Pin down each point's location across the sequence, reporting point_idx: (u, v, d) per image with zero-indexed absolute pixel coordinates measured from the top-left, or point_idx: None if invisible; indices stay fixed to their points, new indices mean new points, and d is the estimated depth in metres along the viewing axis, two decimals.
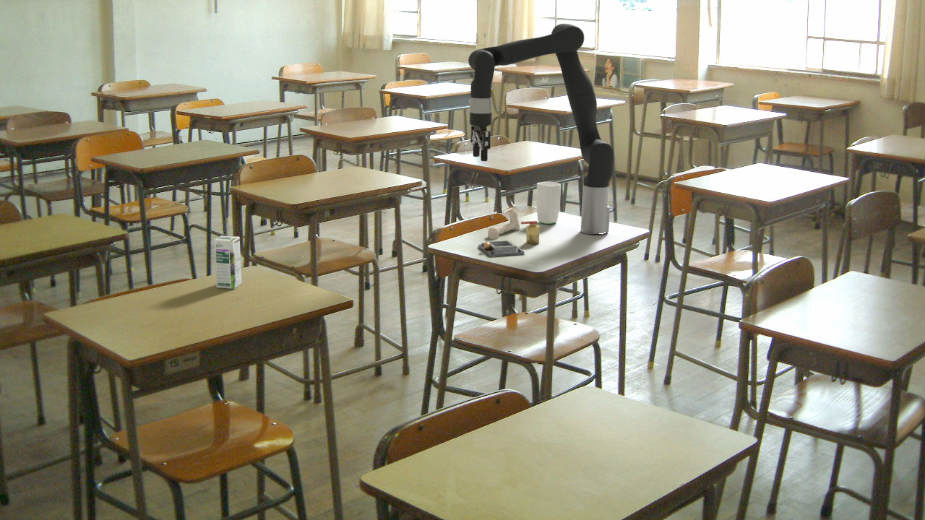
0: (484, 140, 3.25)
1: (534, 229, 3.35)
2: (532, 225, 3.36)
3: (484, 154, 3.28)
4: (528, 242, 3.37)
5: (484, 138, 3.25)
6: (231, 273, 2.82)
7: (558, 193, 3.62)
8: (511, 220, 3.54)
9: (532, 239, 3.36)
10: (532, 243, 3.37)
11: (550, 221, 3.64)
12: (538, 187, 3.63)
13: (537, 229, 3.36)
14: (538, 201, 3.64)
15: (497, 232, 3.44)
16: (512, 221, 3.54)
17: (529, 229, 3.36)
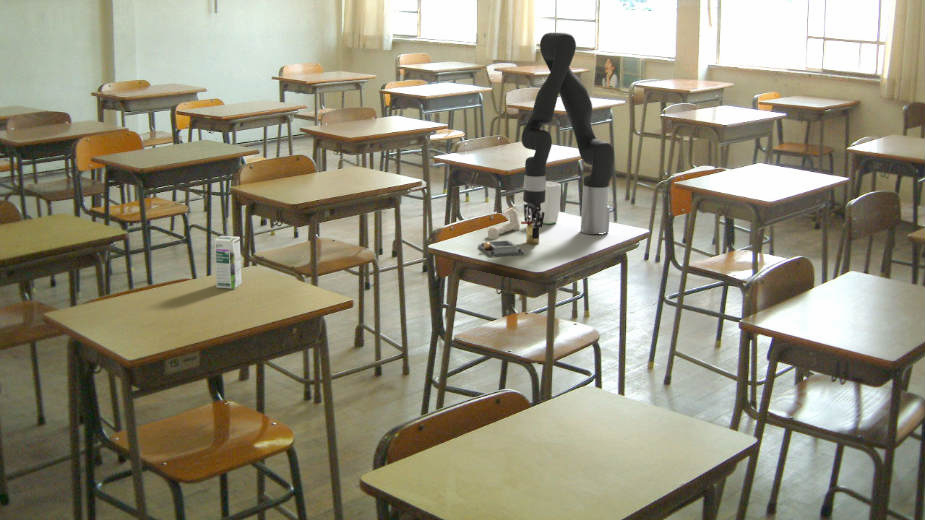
0: (537, 220, 3.31)
1: None
2: None
3: (536, 232, 3.34)
4: (528, 242, 3.37)
5: (537, 219, 3.30)
6: (231, 273, 2.82)
7: (558, 193, 3.62)
8: (511, 220, 3.54)
9: (532, 239, 3.36)
10: (532, 243, 3.37)
11: (550, 221, 3.64)
12: None
13: None
14: None
15: (497, 232, 3.43)
16: (512, 221, 3.54)
17: (529, 229, 3.36)
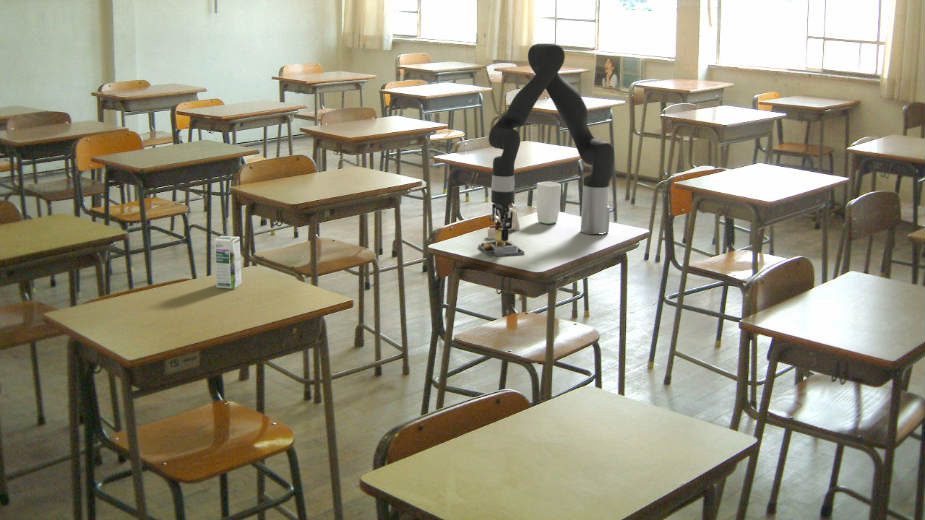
0: (506, 221, 3.19)
1: None
2: (501, 229, 3.25)
3: (505, 234, 3.23)
4: None
5: (506, 219, 3.19)
6: (231, 273, 2.82)
7: (558, 193, 3.62)
8: None
9: (501, 243, 3.26)
10: None
11: (550, 221, 3.64)
12: (538, 187, 3.63)
13: None
14: (538, 201, 3.64)
15: None
16: (512, 221, 3.54)
17: (497, 233, 3.25)
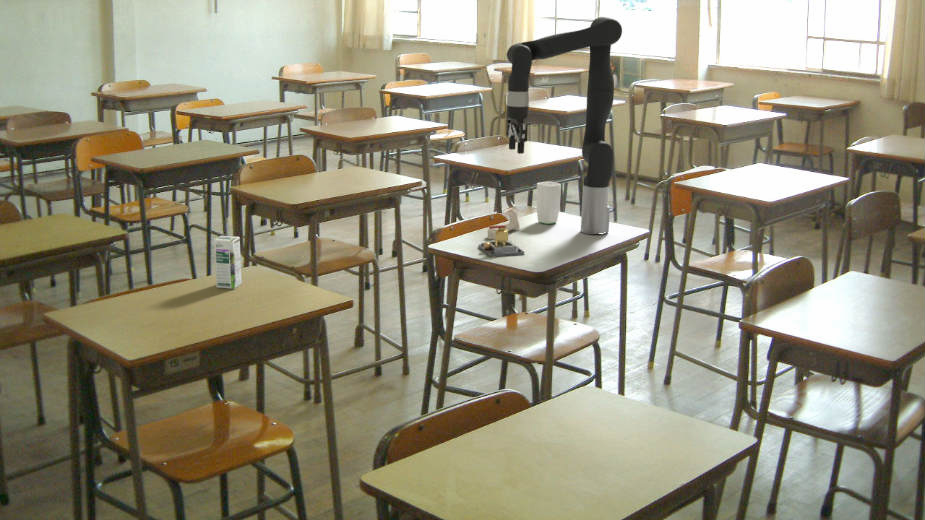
0: (521, 133, 3.31)
1: (503, 233, 3.25)
2: (500, 229, 3.25)
3: (521, 147, 3.34)
4: None
5: (521, 131, 3.31)
6: (231, 273, 2.82)
7: (558, 193, 3.62)
8: (511, 220, 3.54)
9: (500, 243, 3.26)
10: None
11: (550, 221, 3.64)
12: (538, 187, 3.63)
13: (506, 233, 3.25)
14: (538, 201, 3.64)
15: None
16: (512, 221, 3.54)
17: (497, 233, 3.25)
